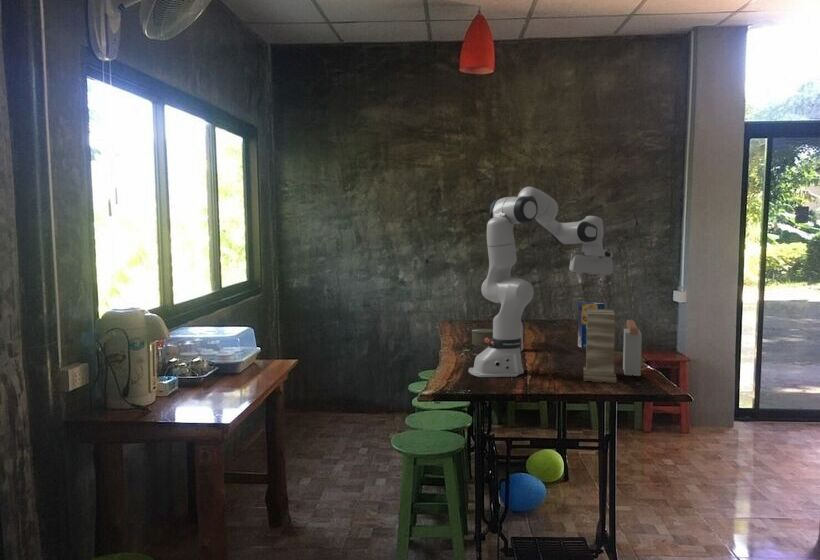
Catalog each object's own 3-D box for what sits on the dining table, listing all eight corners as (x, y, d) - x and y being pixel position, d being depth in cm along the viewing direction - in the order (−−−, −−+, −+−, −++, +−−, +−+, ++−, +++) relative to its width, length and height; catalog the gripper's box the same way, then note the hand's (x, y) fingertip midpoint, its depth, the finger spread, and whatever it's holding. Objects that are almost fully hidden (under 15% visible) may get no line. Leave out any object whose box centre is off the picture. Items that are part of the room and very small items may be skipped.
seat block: (640, 375, 253) (641, 333, 252) (624, 375, 255) (625, 333, 254) (638, 369, 265) (639, 329, 264) (622, 368, 266) (623, 328, 265)
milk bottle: (522, 352, 303) (523, 310, 301) (506, 351, 304) (506, 310, 303) (523, 349, 310) (523, 308, 309) (507, 348, 312) (507, 308, 310)
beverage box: (603, 348, 312) (604, 303, 310) (581, 348, 312) (582, 303, 310) (599, 345, 319) (600, 302, 317) (577, 345, 319) (578, 302, 317)
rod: (637, 335, 249) (638, 328, 248) (631, 334, 249) (631, 328, 249) (632, 325, 273) (633, 319, 273) (626, 325, 273) (626, 319, 273)
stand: (616, 383, 242) (617, 315, 239) (583, 381, 245) (584, 314, 243) (613, 372, 259) (615, 309, 257) (583, 371, 262) (584, 308, 260)
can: (494, 346, 320) (494, 332, 319) (470, 345, 322) (470, 331, 321) (495, 341, 332) (495, 328, 331) (472, 341, 334) (472, 328, 333)
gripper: (574, 250, 277) (573, 281, 277) (615, 254, 283) (614, 285, 282) (567, 251, 283) (565, 282, 283) (607, 255, 289) (606, 285, 288)
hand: (590, 283), depth 282 cm, fingers open, 8 cm apart
